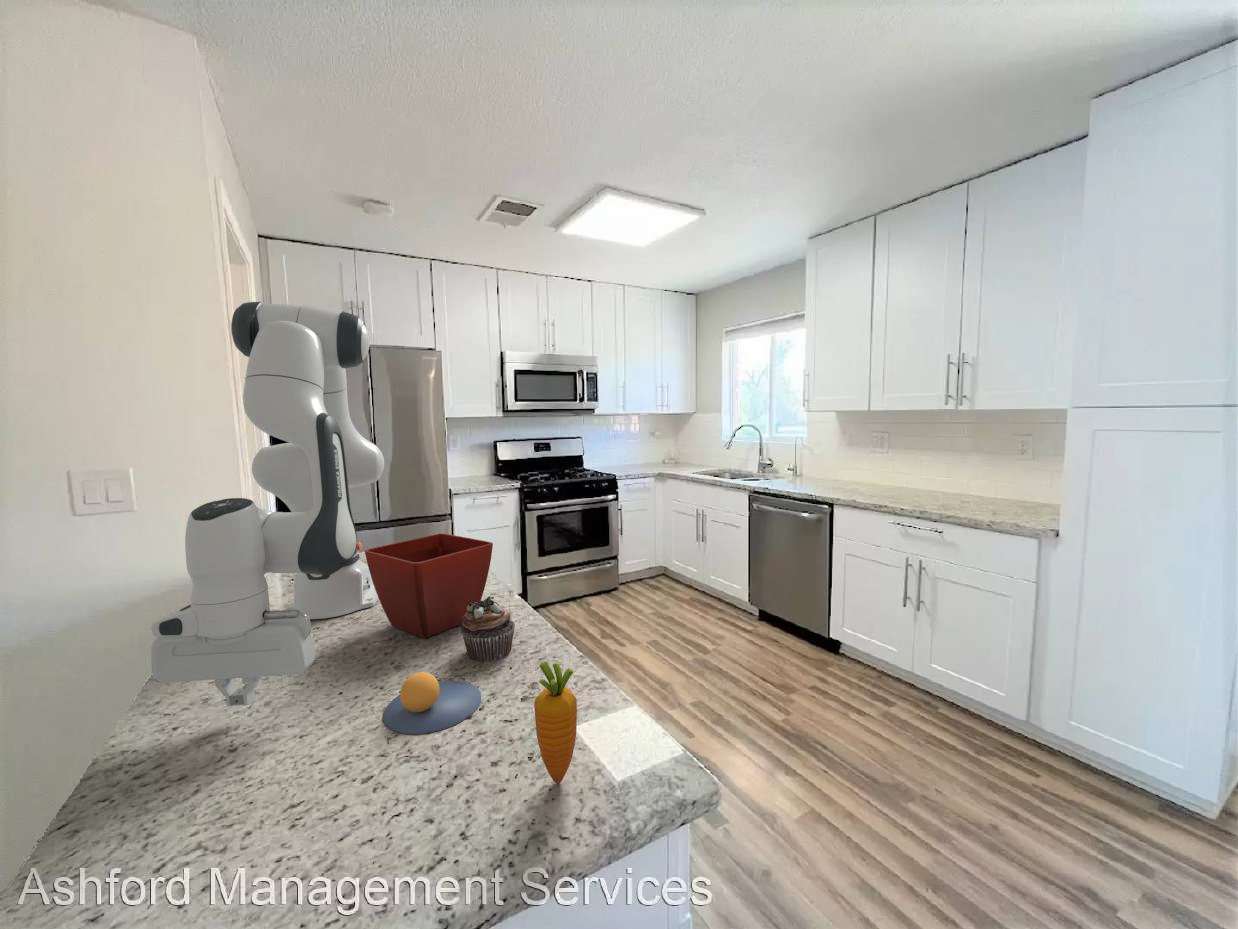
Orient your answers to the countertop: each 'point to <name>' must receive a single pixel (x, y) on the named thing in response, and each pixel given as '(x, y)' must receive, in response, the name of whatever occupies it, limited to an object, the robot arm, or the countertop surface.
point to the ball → (419, 692)
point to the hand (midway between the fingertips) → (241, 703)
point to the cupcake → (487, 630)
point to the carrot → (556, 721)
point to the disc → (435, 709)
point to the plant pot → (429, 580)
